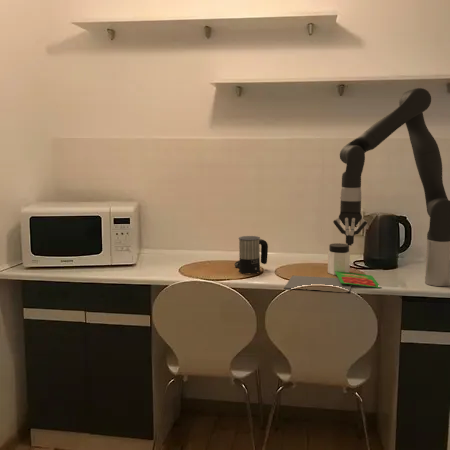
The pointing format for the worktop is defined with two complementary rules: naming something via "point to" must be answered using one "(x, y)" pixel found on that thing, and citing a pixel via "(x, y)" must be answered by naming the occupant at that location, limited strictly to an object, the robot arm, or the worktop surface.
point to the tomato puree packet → (357, 279)
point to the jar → (338, 258)
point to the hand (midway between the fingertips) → (349, 245)
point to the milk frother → (251, 254)
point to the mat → (314, 282)
